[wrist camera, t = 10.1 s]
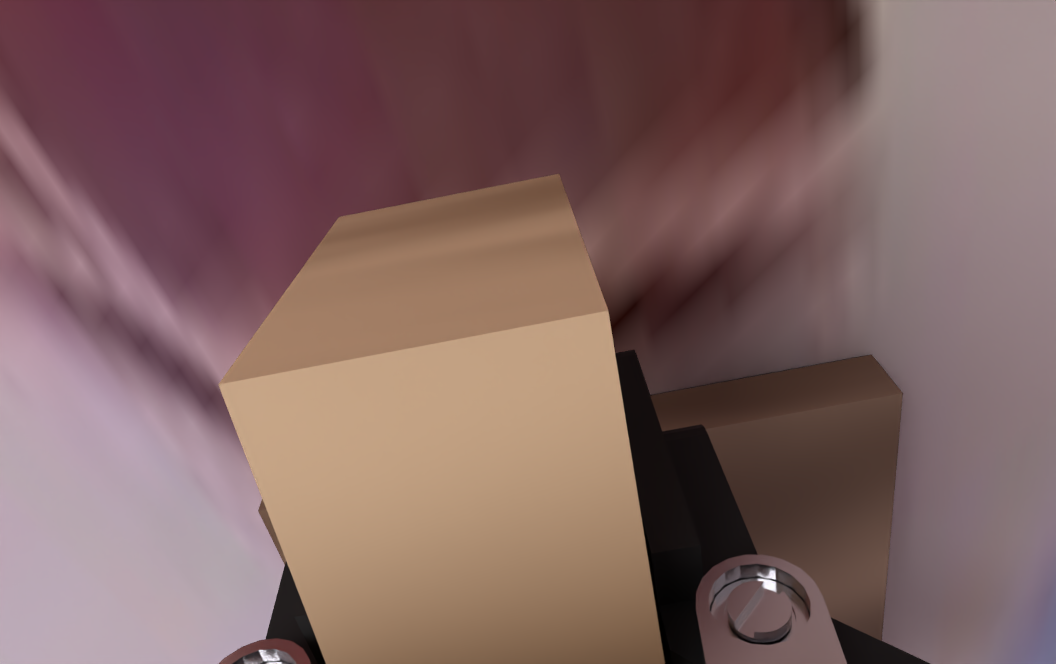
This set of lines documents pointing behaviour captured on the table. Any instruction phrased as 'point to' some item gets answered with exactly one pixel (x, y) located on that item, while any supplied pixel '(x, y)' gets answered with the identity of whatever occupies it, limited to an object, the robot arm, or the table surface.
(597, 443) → the tan block
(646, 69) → the table surface
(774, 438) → the walnut board
